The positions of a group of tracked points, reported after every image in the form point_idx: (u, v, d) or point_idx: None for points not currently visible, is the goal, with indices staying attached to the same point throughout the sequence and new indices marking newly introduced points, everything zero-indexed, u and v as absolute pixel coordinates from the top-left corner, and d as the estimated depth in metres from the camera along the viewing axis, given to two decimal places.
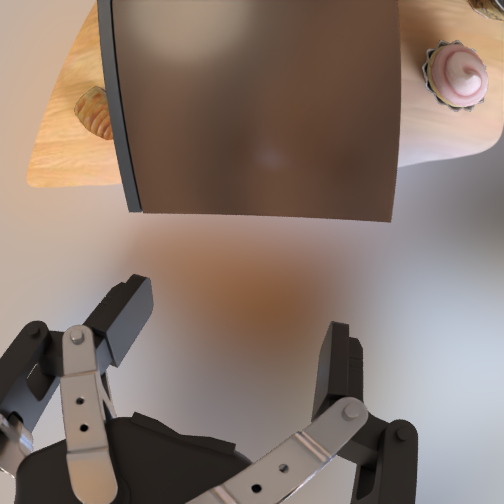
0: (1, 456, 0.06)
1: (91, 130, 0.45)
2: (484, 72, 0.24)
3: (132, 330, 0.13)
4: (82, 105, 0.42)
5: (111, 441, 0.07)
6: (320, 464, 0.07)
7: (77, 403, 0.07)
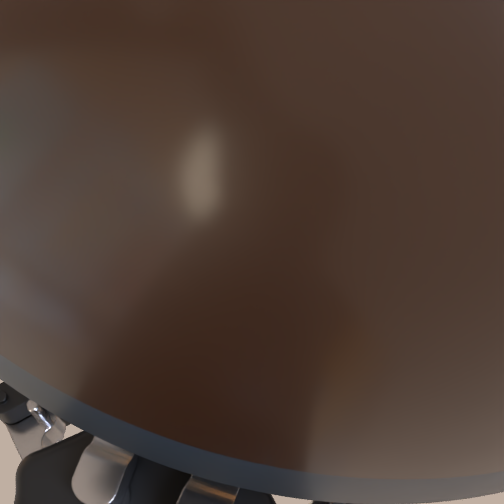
0: (21, 435, 0.07)
1: None
2: None
3: None
4: None
5: None
6: None
7: None
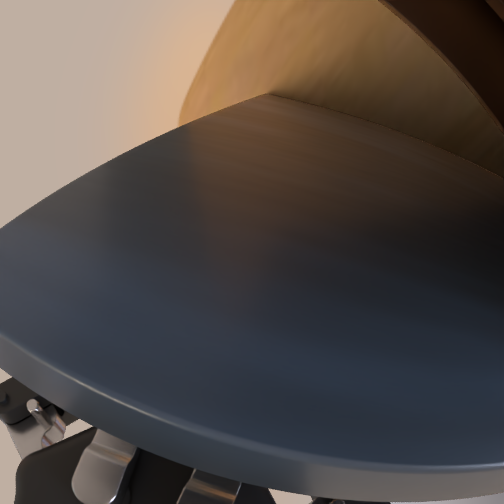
0: (21, 435, 0.07)
1: None
2: None
3: None
4: None
5: None
6: None
7: None
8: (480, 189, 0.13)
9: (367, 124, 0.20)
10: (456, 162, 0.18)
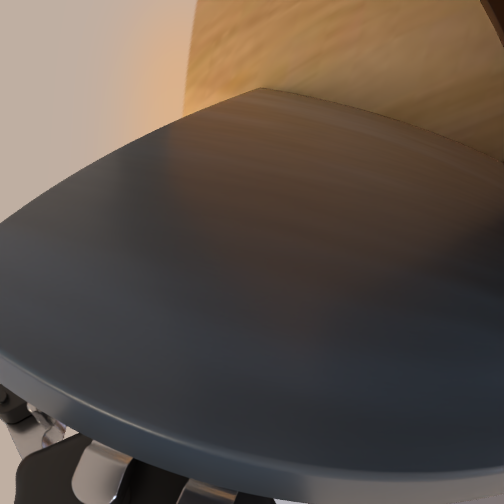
0: (21, 435, 0.07)
1: None
2: None
3: None
4: None
5: None
6: None
7: None
8: (481, 174, 0.12)
9: (363, 113, 0.19)
10: (455, 148, 0.17)
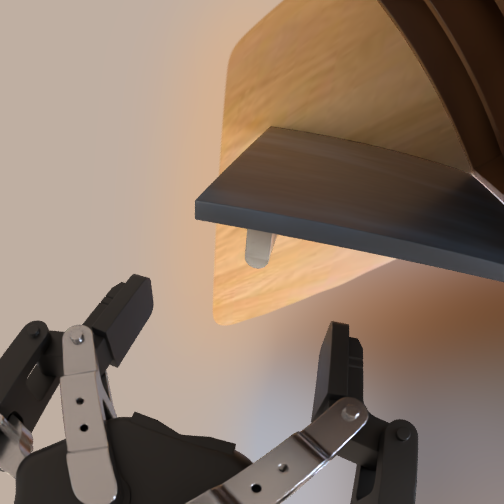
0: (1, 456, 0.06)
1: None
2: None
3: (132, 330, 0.13)
4: None
5: (111, 441, 0.07)
6: (320, 464, 0.07)
7: (77, 403, 0.07)
8: (391, 171, 0.27)
9: (333, 141, 0.34)
10: (390, 157, 0.32)
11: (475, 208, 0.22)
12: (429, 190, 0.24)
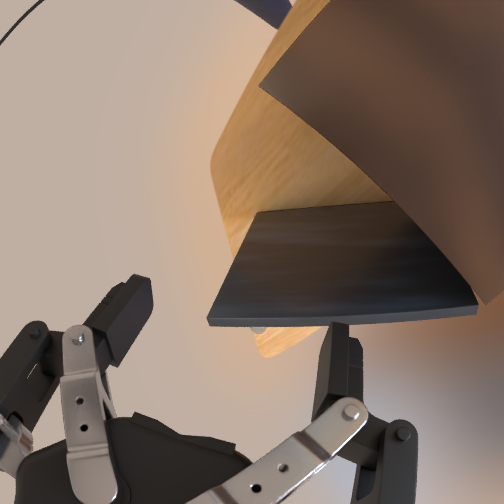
0: (1, 456, 0.06)
1: None
2: None
3: (132, 330, 0.13)
4: None
5: (111, 441, 0.07)
6: (320, 464, 0.07)
7: (77, 403, 0.07)
8: (340, 240, 0.39)
9: (303, 215, 0.47)
10: (347, 218, 0.43)
11: (404, 255, 0.33)
12: (366, 251, 0.36)
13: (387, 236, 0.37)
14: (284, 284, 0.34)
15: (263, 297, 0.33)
